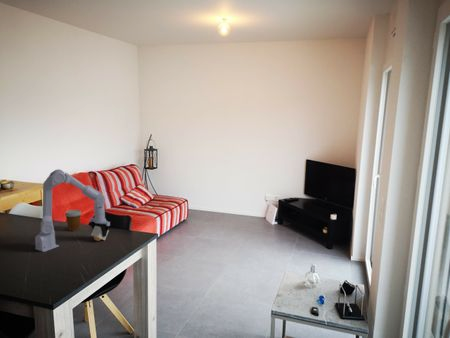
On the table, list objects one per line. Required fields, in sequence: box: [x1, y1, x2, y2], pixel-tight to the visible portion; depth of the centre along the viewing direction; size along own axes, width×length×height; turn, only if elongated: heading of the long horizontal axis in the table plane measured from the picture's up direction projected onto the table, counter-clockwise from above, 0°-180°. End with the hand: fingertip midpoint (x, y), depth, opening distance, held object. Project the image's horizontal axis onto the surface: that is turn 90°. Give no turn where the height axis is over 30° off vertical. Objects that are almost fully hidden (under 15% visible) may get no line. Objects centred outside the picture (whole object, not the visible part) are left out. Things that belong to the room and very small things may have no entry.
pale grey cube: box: [90, 226, 110, 241], centre depth 206 cm, size 6×6×6 cm
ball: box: [93, 236, 102, 242], centre depth 204 cm, size 5×5×5 cm
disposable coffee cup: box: [64, 209, 82, 232], centre depth 220 cm, size 10×10×12 cm
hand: (100, 235), depth 206 cm, fingers closed on pale grey cube, 6 cm apart
